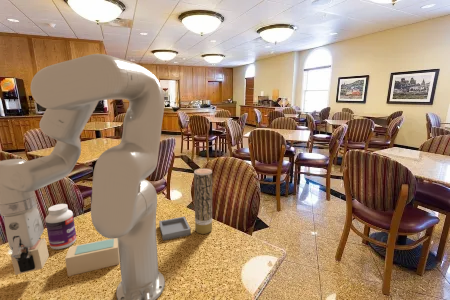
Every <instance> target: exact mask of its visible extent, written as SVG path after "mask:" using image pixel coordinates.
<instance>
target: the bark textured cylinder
mask: <svg viewBox="0 0 450 300" xmlns="http://www.w3.org/2000/svg"><path fill="white" fill-rule="evenodd" d="M193 173H194V175H193V178H194V181H193V182H194V183H193V186H194V219H195V220H194V221H195V222H194V223H195V224H194V225H195V226H194V227H195V228H194V229H195V231H196V233H198V234H202V235H205V234H209V233H211V232H212V230H213V170H212V169H211V168H204V167H203V168H197V169H195V170H194V172H193Z"/></svg>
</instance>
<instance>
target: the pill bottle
mask: <svg viewBox="0 0 450 300" xmlns="http://www.w3.org/2000/svg"><path fill="white" fill-rule="evenodd" d="M47 211H48V214H47V216H46V217H45V226H46V231H47V233H46V234H47V238H48V245H49V247H50V248H51V249H53V250H62V249H64V248H65V249H66V248H69V247H70V246H73V244H74V243H75V242H76V241H77V233H76V225H75V218H74V213H73V211H72V210H71V209H69V208H68V204H66V203H57V204H55V205H51V206H50V207H48V208H47Z"/></svg>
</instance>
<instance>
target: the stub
mask: <svg viewBox="0 0 450 300" xmlns="http://www.w3.org/2000/svg"><path fill="white" fill-rule="evenodd" d="M24 246H25V245H21V247H24ZM21 252H25V253H26V249H23V250H21ZM30 253H31V256H32V255H33V259H34V264H35V269H33V270H29V271H25V272H20V269H19V265H18V261H16V259H15V258H14V257H12V253H11V254H10V259H11V263H12V267H13V270H14V274H15V276H17V275H21V274H25V273H29V272H34V271H37V270H42V269H44V266H45V264H46V262H47V260H48V258H49V256H50V255H49V250H48V246H47V241H46V238H45V237H44V238H41V239H38V241H37V242H36V244H35V245H34V246H33V247H30Z"/></svg>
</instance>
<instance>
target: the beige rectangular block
mask: <svg viewBox="0 0 450 300" xmlns="http://www.w3.org/2000/svg"><path fill="white" fill-rule="evenodd" d="M64 260H65V267H66V272H67V276H68V277H70V276H75V275H78V274H83V273H87V272H91V271H96V270H100V269H104V268H108V267H112V266H116V265H120V259H119V249H118V238H113V239H112V238H106V239H102V240H101V239H100V240H96V241H91V242H87V243H81V244H77V245H70V246H68V250H67V253H66V255H65V258H64Z"/></svg>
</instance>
